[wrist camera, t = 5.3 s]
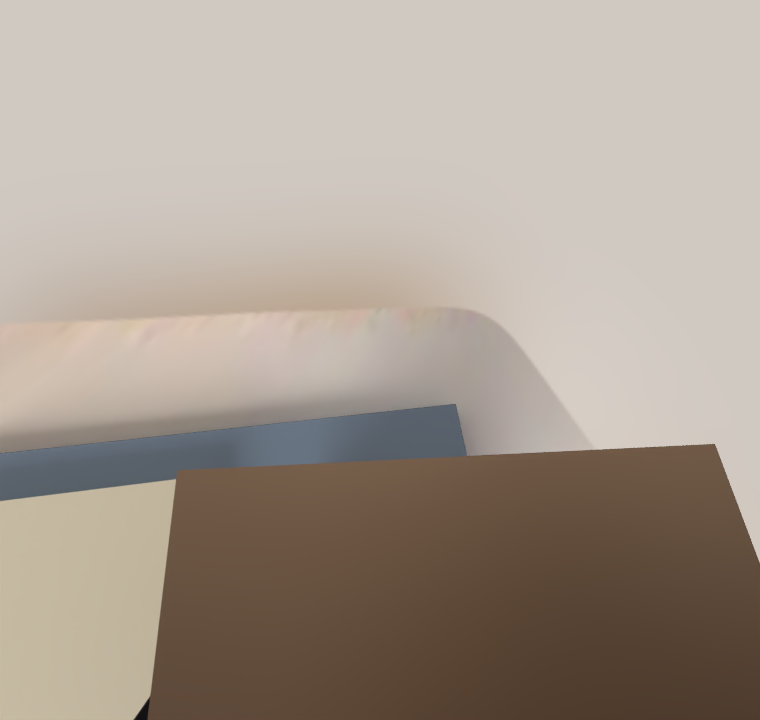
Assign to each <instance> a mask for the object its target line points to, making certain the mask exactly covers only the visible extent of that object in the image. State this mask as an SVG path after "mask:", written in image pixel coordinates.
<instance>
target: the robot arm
mask: <svg viewBox="0 0 760 720" xmlns="http://www.w3.org/2000/svg"><path fill="white" fill-rule="evenodd" d="M149 703H150V697H149V698H148V700H147V701H146V702H145V704H144V705H143V707H142V708H141V710H140V711H139V713H138V714H137V715H136V717H135V718H134V720H147V719H148V711H149Z"/></svg>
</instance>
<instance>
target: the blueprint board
mask: <svg viewBox="0 0 760 720" xmlns="http://www.w3.org/2000/svg"><path fill="white" fill-rule="evenodd" d="M461 456H467V454H466V450H465V445H464V441H463V436H462V431H461V427H460V422H459V417H458V413H457V408H456V404H451V405H442V406H433V407H424V408H415V409H405V410H396V411H387V412H378V413H369V414H359V415H350V416H341V417H332V418H323V419H313V420H304V421H295V422H286V423H277V424H267V425H258V426H249V427H240V428H231V429H221V430H212V431H203V432H194V433H184V434H175V435H166V436H157V437H148V438H138V439H129V440H120V441H111V442H102V443H92V444H83V445H74V446H65V447H56V448H46V449H37V450H28V451H19V452H10V453H0V720H134V718H135V717H136V715H137V714H138V713H139V711H140V710H141V708H142V707H143V705H144V704H145V702H146V701H147V700H148V698H149V697H150V694H151V686H152V677H153V669H154V661H155V652H156V644H157V635H158V627H159V619H160V610H161V602H162V593H163V585H164V577H165V568H166V560H167V551H168V543H169V535H170V526H171V518H172V509H173V501H174V493H175V484H176V476H177V470H195V469H215V468H236V467H256V466H277V465H297V464H318V463H338V462H359V461H379V460H400V459H420V458H440V457H461Z"/></svg>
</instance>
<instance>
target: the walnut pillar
mask: <svg viewBox="0 0 760 720" xmlns="http://www.w3.org/2000/svg"><path fill="white" fill-rule="evenodd" d="M147 720H760V563H759V560H758V558H757V555H756V552H755V550H754V547H753V544H752V542H751V539H750V536H749V534H748V531H747V528H746V526H745V523H744V520H743V518H742V515H741V512H740V510H739V507H738V504H737V502H736V499H735V496H734V494H733V491H732V488H731V486H730V483H729V480H728V478H727V475H726V472H725V470H724V467H723V464H722V462H721V459H720V457H719V454H718V451H717V448H716V446H715V444H707V445H686V446H666V447H646V448H625V449H604V450H584V451H563V452H543V453H522V454H502V455H481V456H461V457H440V458H420V459H400V460H379V461H359V462H338V463H318V464H297V465H277V466H256V467H236V468H215V469H195V470H177V476H176V484H175V493H174V501H173V509H172V518H171V526H170V535H169V543H168V551H167V560H166V568H165V577H164V585H163V593H162V602H161V610H160V619H159V627H158V635H157V644H156V652H155V661H154V669H153V677H152V686H151V694H150V703H149V711H148V719H147Z"/></svg>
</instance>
